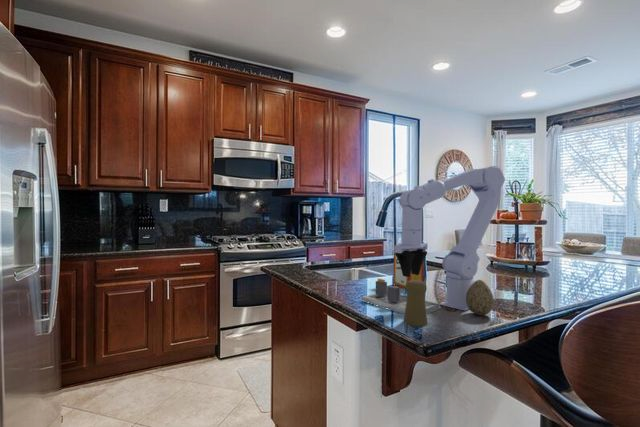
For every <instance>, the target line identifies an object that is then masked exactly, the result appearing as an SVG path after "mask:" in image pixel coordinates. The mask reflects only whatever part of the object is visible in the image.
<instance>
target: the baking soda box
mask: <svg viewBox="0 0 640 427" xmlns="http://www.w3.org/2000/svg"><path fill="white" fill-rule="evenodd" d="M397 245H398V244H393V247H394V246H397ZM423 251H425V250H423ZM392 277H393V278H392V285H393V284H395V285H394V286H396V285H397V286H396V287H400V288H403V289H404V288H405V289H404V290H406V284H407V282H408V281H410V280H420V281H423V282H424V262H423V263H422V266H421V269H420V273H419V275H415V274H412V271H411V274H410V277H406V276H403V274H402V270H401V266H400V263H399V260H398V258H397V256H396V255H395V253H394V252H393V276H392Z"/></svg>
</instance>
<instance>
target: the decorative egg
mask: <svg viewBox="0 0 640 427" xmlns="http://www.w3.org/2000/svg"><path fill="white" fill-rule="evenodd" d="M474 281H475V282H474V283H473V284H472V285H471V286H470V287H469V289H468V291H467V294H466V304H467V306H468V308H469V309H468V310H469V311H471V313H473V314H475V315H477V316H486V315H487V314H488V315H489V313H490V312H491V311H492V310H493V307H494V302H495V301H494V295H493V293H492V290H491V289H490V287H489V285H488V284H487V283H486V282H485V281H484V280H481V279H477V280H474Z"/></svg>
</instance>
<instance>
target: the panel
mask: <svg viewBox="0 0 640 427" xmlns="http://www.w3.org/2000/svg"><path fill="white" fill-rule="evenodd" d="M362 300H364V301H366V302H369V303H372V304H375V305H378V306H377V307H379V306H381V307H380V308H382V307H384V308H383V309H386V308H388V309H387V310H389V309H390V311H393V312H396V311H397V313H399V312H400V314H403V313H404V314H403V315H405V309H406V303H407V295H402V294H400V301H399V302H392V301H388V300H387V295H385V296H381V295H377V294H375V293H372V294H369V295H363V296H361V301H362ZM372 304H371V305H372ZM375 305H374V306H375ZM425 306H426V314H427V315H428V314H430V313H433V312H435V311H438V310H440V303H437V302H431V301H428V300H425Z"/></svg>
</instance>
